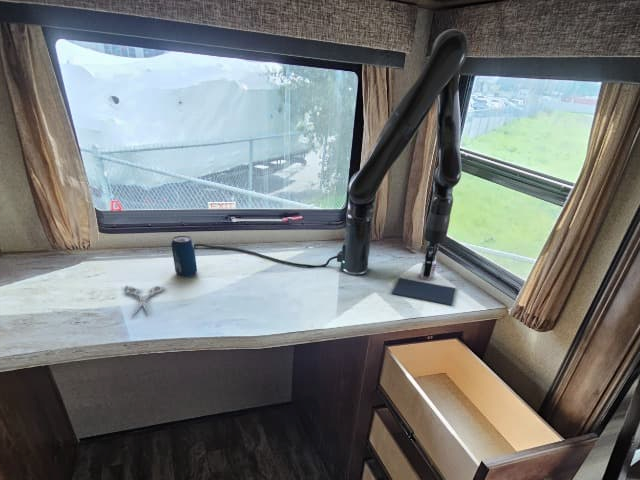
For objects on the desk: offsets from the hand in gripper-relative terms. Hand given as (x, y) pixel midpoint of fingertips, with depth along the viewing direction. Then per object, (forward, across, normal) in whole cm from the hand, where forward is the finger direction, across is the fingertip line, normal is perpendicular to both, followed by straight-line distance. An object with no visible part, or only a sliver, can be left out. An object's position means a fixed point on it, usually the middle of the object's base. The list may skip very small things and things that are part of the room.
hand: (427, 273), depth 157 cm
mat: (+2, +13, +1) cm, 13 cm away
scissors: (+2, +59, -77) cm, 97 cm away
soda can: (+2, +36, -77) cm, 85 cm away
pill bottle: (+2, 0, 0) cm, 2 cm away
